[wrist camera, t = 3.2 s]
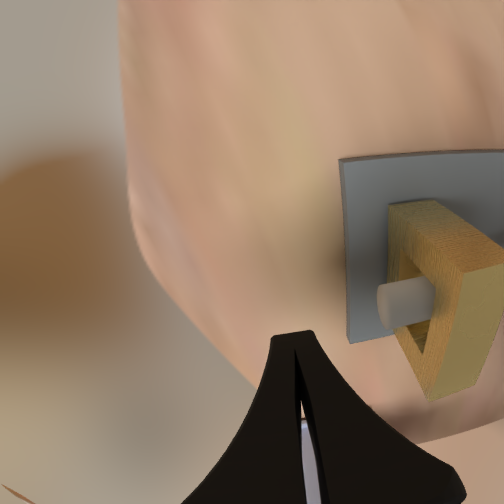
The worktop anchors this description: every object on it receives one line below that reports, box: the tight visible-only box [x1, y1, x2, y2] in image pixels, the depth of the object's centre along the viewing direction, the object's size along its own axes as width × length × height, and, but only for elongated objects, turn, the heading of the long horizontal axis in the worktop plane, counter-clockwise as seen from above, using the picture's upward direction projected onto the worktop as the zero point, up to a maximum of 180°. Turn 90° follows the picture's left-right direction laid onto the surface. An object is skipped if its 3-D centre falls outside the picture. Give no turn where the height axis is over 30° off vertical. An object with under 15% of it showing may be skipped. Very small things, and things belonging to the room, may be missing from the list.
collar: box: [387, 200, 504, 402], centre depth 11 cm, size 2×6×6 cm, turn 10°
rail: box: [338, 150, 504, 344], centre depth 12 cm, size 15×10×5 cm, turn 100°
